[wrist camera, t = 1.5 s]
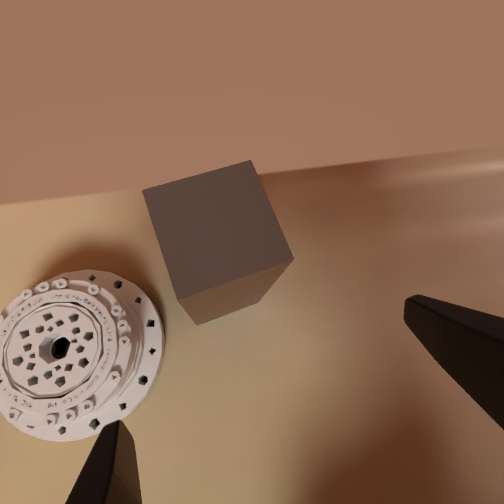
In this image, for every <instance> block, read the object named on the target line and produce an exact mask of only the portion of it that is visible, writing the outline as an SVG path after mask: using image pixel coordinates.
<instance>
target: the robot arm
mask: <svg viewBox="0 0 504 504" xmlns="http://www.w3.org/2000/svg"><path fill="white" fill-rule="evenodd" d="M404 321H405V323H406V325H407V326H408V327H409V328H410V330H411V331H412V332H413V333H414V335H415V336H416V337H417V338H418V339H419V341H420V342H421V343H422V344H423V346H424V347H425V348H426V349H427V350H428V352H429V353H430V354H431V355H432V357H433V358H434V359H435V360H436V361H437V362H438V364H439V365H440V366H441V367H442V368H443V369H444V370H445V371H446V372H447V373H448V374H449V375H450V376H451V377H452V378H453V379H454V380H455V381H456V382H457V383H458V384H459V385H460V386H461V387H462V388H463V389H464V390H465V391H466V392H467V393H468V394H469V395H470V396H471V397H472V398H473V399H474V400H475V401H476V402H477V403H478V404H479V405H480V406H481V407H482V408H483V409H484V411H485V412H486V413H487V414H488V415H489V416H490V417H491V418H492V419H493V420H494V421H495V422H496V423H497V424H498V425H499V426H500V427H501V428H502V429H503V430H504V318H502V317H498V316H494V315H491V314H487V313H484V312H480V311H477V310H473V309H469V308H466V307H462V306H459V305H455V304H452V303H448V302H444V301H441V300H437V299H434V298H430V297H426V296H423V295H418V294H417V295H414V296H411V297H409V298H407V299H406V300H405V306H404ZM65 504H142V498H141V490H140V482H139V475H138V467H137V459H136V451H135V444H134V440H133V437H132V435H131V434H130V432H129V431H128V429H127V428H126V426H125V425H124V423H123V422H122V421H121V420H116V421H114V422H111V423H109V424H107V425H105V426H104V427H103V428H102V430H101V432H100V434H99V436H98V438H97V440H96V442H95V444H94V446H93V448H92V450H91V452H90V454H89V456H88V458H87V460H86V462H85V464H84V466H83V468H82V470H81V472H80V474H79V476H78V479H77V481H76V483H75V485H74V487H73V489H72V491H71V493H70V495H69V497H68V499H67V501H66V503H65Z"/></svg>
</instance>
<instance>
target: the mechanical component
mask: <svg viewBox="0 0 504 504" xmlns="http://www.w3.org/2000/svg"><path fill="white" fill-rule="evenodd" d="M121 283H122V287H121V288H119V286H120V285H121ZM118 288H119V289H118ZM140 300H141V303H139V301H140ZM153 320H154V327H150V324H149V323H150V322H151V321H153ZM61 337H65V338H66V339H68V341H67V345H66V350H65V354H64V355H63V354H56V355H55V348H56V344H57V341H58V339H59V338H61ZM92 337H93V338H92ZM153 349H156V351H155V352H154V353H152V351H153ZM164 349H165V335H164V327H163V324H162V321H161V319H160V316H159V313H158V311H157V308H156V306H155V305H154V304H153V302H152V301H151V300H150V299H149V297H148V296H147V295H146V294H145V292H143V291H142V290H141V289H140V288H139V287H138V286H137V285H135V284H134V283H132V282H130V281H128V280H126V279H124V278H122V277H120V276H118V275H116V274H114V273H112V272H106V271H99V270H91V269H86V270H79V271H73V272H66V273H62V274H59V275H57V276H55V277H53V278H50V279H48V280H46V281H44V282H41V283H39V284H37V285H36V286H35V287H33V288H32V289H25V290H24V291H22V292H21V295H20V296H19V297H17V298H15V299H14V300H13V301H12V302H11V303H10V304H9V305H8V306H7V307H6V308H4V310H3V311H2V313H1V314H0V412H1V413H2V414H3V415H4V417H5V418H6V420H7V421H9V422H10V423H11V424H13V425H14V426H15V427H17V428H18V429H20V430H21V431H22V432H24V433H26V434H28V435H31V436H34V437H36V438H39V439H42V440H49V441H58V442H65V441H73V440H81V439H84V438H87V437H90V436H92V435H95V434H98V433H100V432H101V430H102V428H103V427H104V426H105V425H107V424H109V423H111V422H114V421H116V420H122V419H123V418H125V417H126V416H127V415H129V414H130V413H132V412H133V411H134V410H135V408H136V407H137V406H138V405H139V404H140V403H141V402H142V401H143V400H144V398H145V397H146V396H147V395H148V393H149V392H150V390H151V388H152V386H153V384H154V382H155V380H156V378H157V376H158V374H159V372H160V368H161V364H162V361H163V357H164ZM144 376H147V378H148V382H147V383H144V382H143V381H142V379H143V377H144ZM69 392H70V393H69ZM125 403H126V407H125ZM96 418H97V419H98V421H99V422H100V424H99V425H97V419H96Z"/></svg>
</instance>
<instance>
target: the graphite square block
mask: <svg viewBox="0 0 504 504" xmlns="http://www.w3.org/2000/svg"><path fill="white" fill-rule="evenodd" d="M142 192H143V195H144V198H145V201H146V204H147V207H148V211H149V214H150V217H151V220H152V223H153V226H154V229H155V232H156V235H157V238H158V241H159V245H160V248H161V251H162V254H163V257H164V260H165V263H166V266H167V269H168V272H169V275H170V279H171V282H172V285H173V288H174V291H175V294H176V297H177V300H178V302H179V303H180V304H181V306H182V307H183V308H184V309H185V311H186V312H187V313H188V315H189V316H190V317H191V319H192V320H193V321H194V322H195V324H196V325H200V324H203V323H205V322H208V321H211V320H213V319H216V318H218V317H221V316H224V315H226V314H229V313H232V312H234V311H237V310H240V309H242V308H245V307H247V306H250V305H253V304H255V303H258V302H259V301H260V299H261V298H262V297H263V296H264V295H265V293H266V292H267V291H268V290H269V289H270V287H271V286H272V285H273V284H274V282H275V281H276V280H277V279H278V278H279V276H280V275H281V274H282V273H283V272H284V270H285V269H286V268H287V267H288V266H289V264H290V263H291V262H292V261H293V259H294V258H293V255H292V253H291V251H290V248H289V246H288V244H287V242H286V239H285V237H284V235H283V232H282V230H281V228H280V226H279V223H278V221H277V219H276V216H275V214H274V212H273V210H272V207H271V205H270V203H269V200H268V198H267V196H266V193H265V191H264V189H263V187H262V184H261V182H260V180H259V177H258V175H257V173H256V171H255V168H254V166H253V164H252V162H251V160H249V161H246V162H242V163H239V164H235V165H232V166H228V167H224V168H221V169H217V170H214V171H210V172H206V173H203V174H199V175H195V176H192V177H188V178H184V179H181V180H177V181H174V182H170V183H167V184H163V185H159V186H156V187H152V188H148V189H145V190H142Z"/></svg>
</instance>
